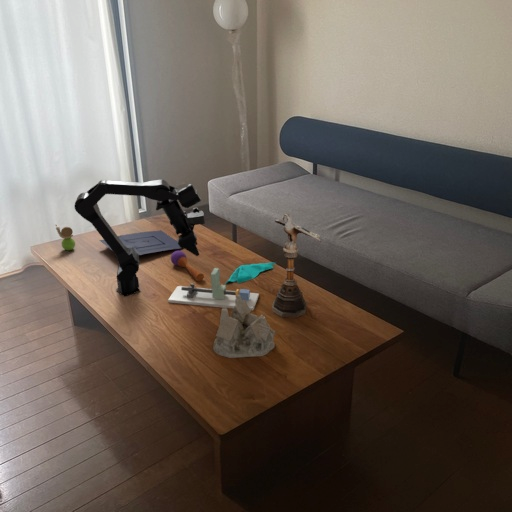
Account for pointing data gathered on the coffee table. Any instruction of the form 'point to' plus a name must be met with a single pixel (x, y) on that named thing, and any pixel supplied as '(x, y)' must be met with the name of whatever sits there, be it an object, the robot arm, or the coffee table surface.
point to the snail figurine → (66, 238)
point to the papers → (148, 242)
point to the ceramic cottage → (243, 333)
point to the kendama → (185, 264)
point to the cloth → (249, 272)
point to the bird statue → (291, 274)
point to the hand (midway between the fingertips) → (197, 250)
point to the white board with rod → (205, 297)
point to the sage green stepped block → (217, 285)
